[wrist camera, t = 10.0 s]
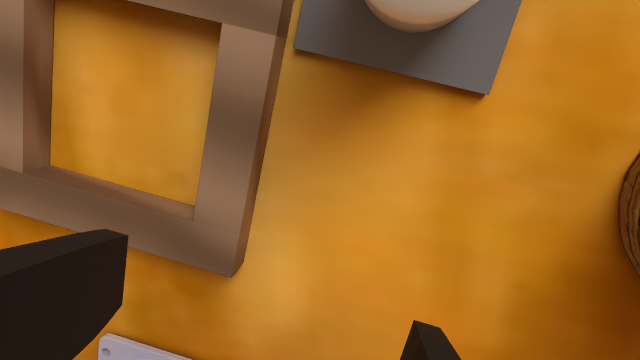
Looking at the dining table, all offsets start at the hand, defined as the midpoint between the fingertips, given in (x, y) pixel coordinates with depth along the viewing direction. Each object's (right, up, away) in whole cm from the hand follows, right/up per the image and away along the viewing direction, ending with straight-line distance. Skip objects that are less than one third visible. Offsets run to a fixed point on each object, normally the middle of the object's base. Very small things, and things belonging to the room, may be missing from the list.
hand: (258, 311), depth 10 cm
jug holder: (-7, +7, +9) cm, 14 cm away
